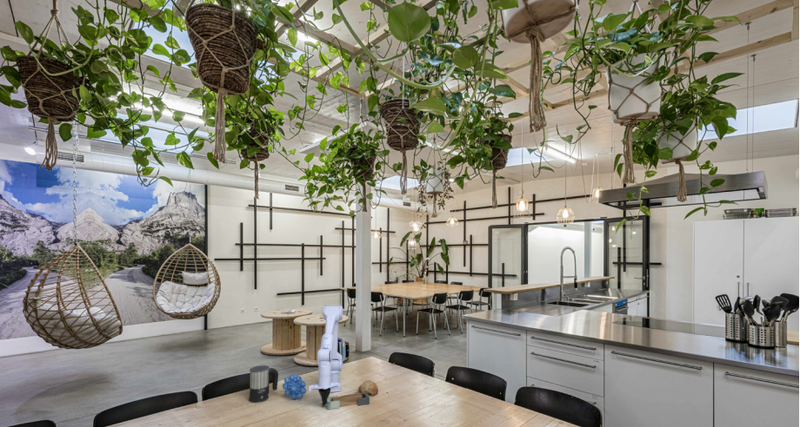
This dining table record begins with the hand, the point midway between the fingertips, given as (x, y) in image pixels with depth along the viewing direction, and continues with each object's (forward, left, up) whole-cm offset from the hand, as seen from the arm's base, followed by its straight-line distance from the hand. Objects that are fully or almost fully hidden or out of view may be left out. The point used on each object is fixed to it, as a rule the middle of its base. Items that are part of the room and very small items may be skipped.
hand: (324, 405), depth 174 cm
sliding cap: (0, +4, -1) cm, 4 cm away
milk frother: (-24, -29, -1) cm, 38 cm away
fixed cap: (0, +18, -1) cm, 18 cm away
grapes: (-13, -13, -1) cm, 18 cm away
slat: (0, +11, -1) cm, 11 cm away
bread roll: (-10, +24, -1) cm, 26 cm away
